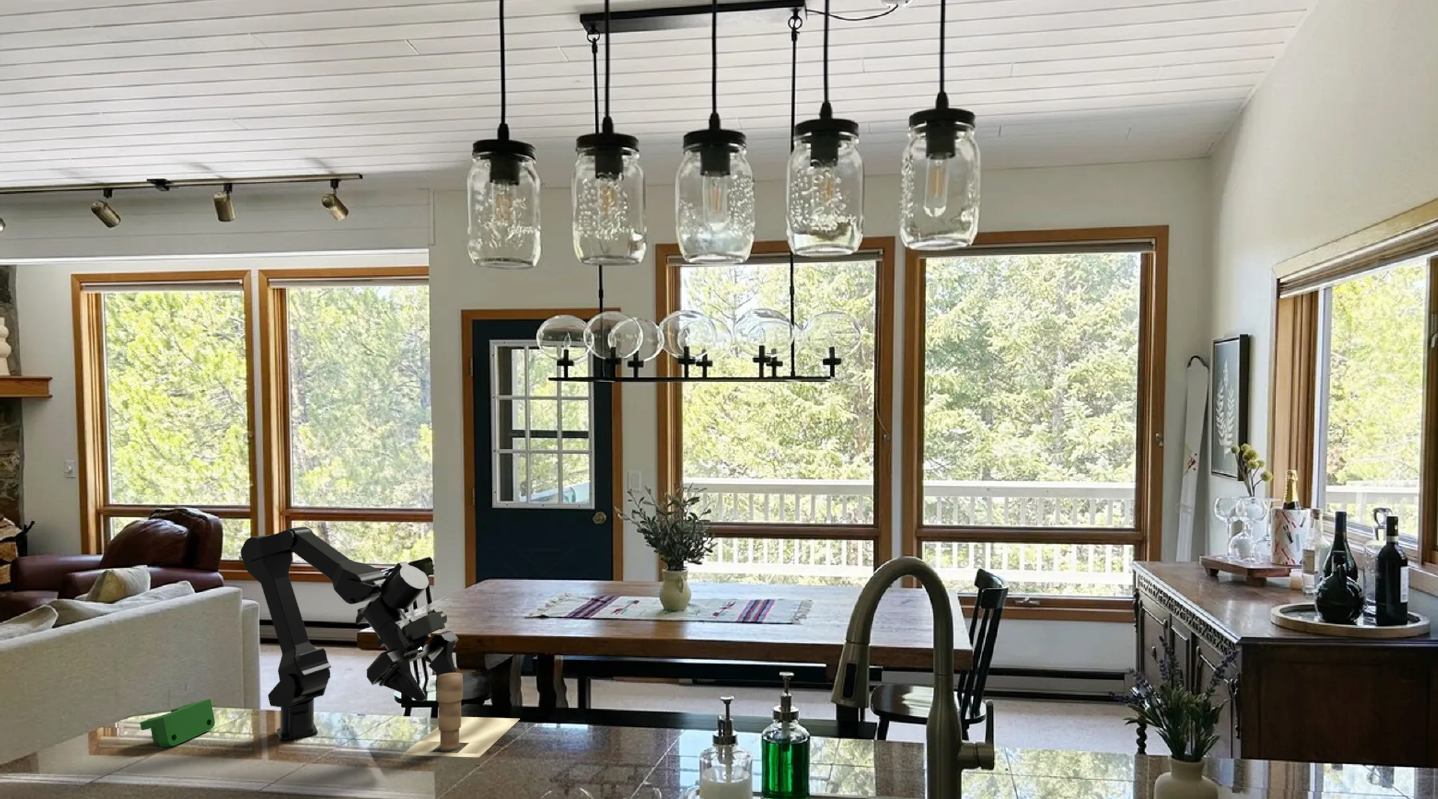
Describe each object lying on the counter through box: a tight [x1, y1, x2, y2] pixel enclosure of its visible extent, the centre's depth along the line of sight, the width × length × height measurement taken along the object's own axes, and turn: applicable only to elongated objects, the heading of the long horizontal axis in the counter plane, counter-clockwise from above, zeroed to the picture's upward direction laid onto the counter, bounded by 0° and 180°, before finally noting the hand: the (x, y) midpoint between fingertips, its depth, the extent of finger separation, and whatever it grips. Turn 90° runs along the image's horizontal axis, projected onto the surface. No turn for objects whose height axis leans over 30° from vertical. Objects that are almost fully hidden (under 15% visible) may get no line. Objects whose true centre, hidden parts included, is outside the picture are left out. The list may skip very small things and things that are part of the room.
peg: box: [436, 672, 464, 752], centre depth 150 cm, size 4×4×14 cm
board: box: [401, 716, 521, 767], centre depth 156 cm, size 14×20×2 cm
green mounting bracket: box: [139, 698, 216, 749], centre depth 160 cm, size 12×6×9 cm
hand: (440, 692), depth 151 cm, fingers open, 9 cm apart
